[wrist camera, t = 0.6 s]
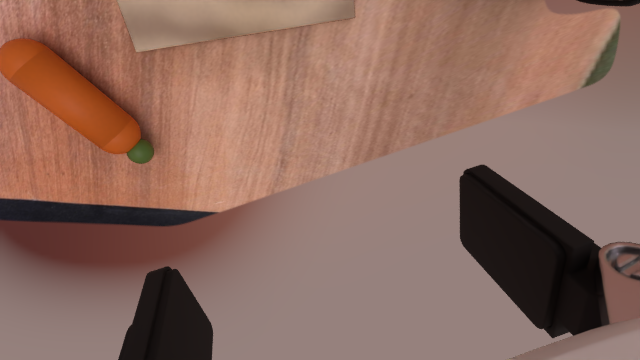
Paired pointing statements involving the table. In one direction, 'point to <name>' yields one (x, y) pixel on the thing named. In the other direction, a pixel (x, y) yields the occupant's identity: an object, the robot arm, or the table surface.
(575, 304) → the robot arm
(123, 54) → the table surface
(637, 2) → the mug
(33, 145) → the table surface
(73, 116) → the carrot
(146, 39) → the chopping board
